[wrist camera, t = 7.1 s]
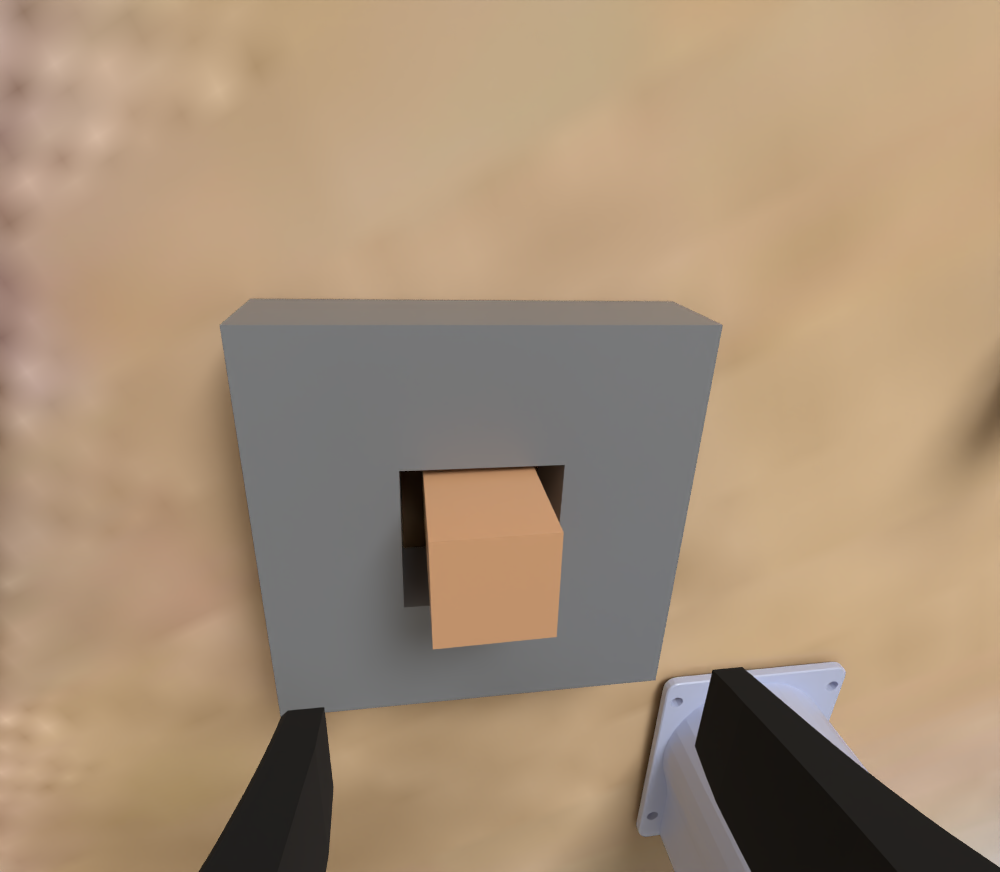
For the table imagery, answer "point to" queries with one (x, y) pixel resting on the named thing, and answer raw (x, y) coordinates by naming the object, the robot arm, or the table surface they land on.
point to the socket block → (462, 445)
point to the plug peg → (490, 556)
